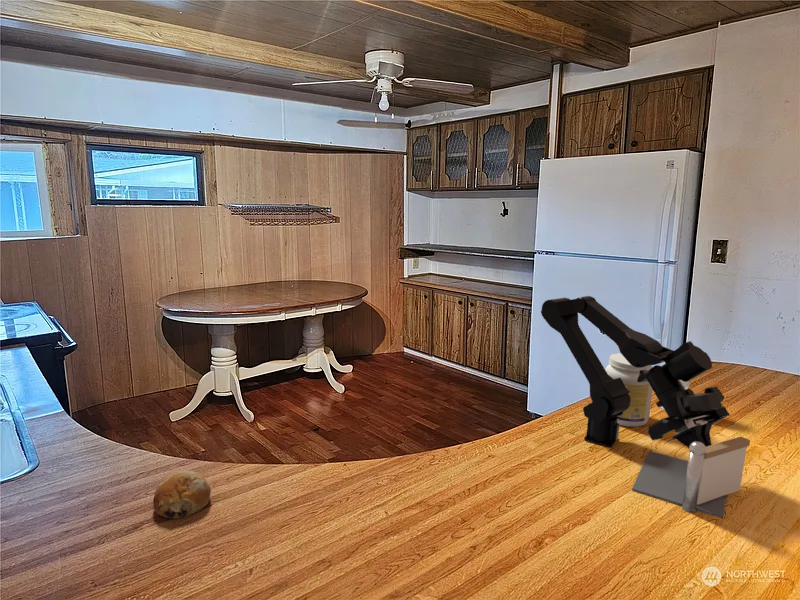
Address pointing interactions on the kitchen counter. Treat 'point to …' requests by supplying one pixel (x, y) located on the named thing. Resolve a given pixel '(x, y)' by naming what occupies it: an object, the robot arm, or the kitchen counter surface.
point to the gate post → (693, 476)
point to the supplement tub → (631, 390)
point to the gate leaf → (722, 469)
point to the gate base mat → (671, 482)
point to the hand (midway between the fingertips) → (712, 461)
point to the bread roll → (181, 495)
